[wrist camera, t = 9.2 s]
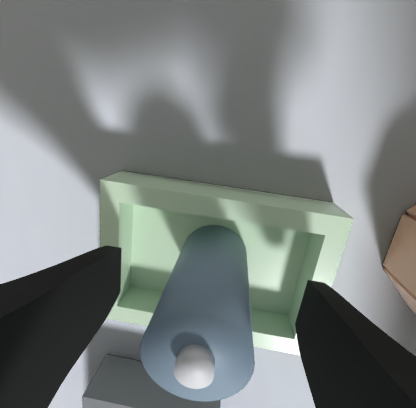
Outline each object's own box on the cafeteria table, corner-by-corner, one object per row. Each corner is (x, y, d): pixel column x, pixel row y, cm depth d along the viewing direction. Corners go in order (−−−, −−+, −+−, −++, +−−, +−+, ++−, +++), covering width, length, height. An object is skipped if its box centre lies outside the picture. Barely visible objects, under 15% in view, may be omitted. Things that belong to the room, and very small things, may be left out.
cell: (254, 233, 11) (271, 343, 6) (237, 288, 12) (237, 429, 7) (189, 217, 12) (142, 309, 6) (177, 273, 12) (127, 399, 7)
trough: (333, 202, 11) (353, 218, 9) (298, 323, 13) (308, 357, 11) (122, 170, 12) (99, 179, 10) (119, 290, 14) (100, 317, 12)
